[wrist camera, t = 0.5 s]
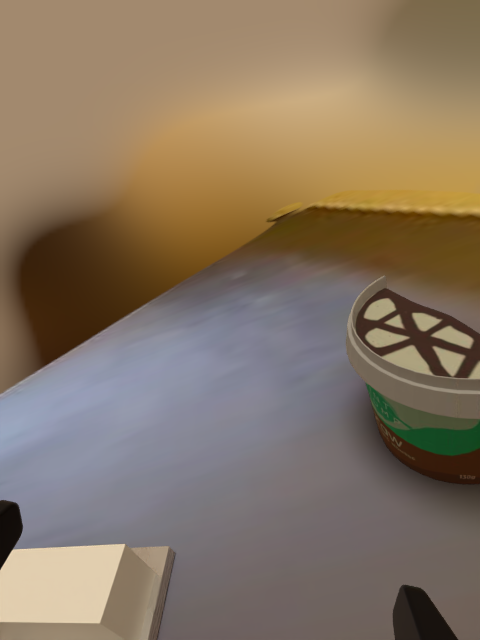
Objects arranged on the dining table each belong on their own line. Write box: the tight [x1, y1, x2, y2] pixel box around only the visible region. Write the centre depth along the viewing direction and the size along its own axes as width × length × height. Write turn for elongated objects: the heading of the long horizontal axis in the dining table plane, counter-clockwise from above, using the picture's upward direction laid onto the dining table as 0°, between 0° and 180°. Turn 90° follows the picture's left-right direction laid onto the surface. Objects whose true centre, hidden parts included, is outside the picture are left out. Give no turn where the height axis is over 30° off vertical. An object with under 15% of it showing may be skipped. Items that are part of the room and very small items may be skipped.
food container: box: [346, 276, 480, 484], centre depth 22 cm, size 12×6×10 cm, turn 21°
